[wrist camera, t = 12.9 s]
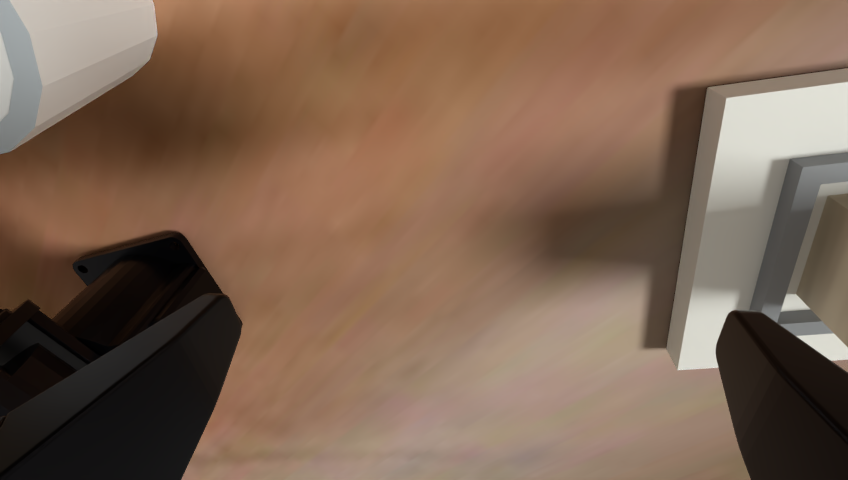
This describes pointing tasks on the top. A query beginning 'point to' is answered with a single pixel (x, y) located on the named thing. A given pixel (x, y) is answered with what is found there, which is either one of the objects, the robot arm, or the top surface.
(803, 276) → the maple pillar
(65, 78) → the white cup
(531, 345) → the top surface
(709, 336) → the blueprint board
